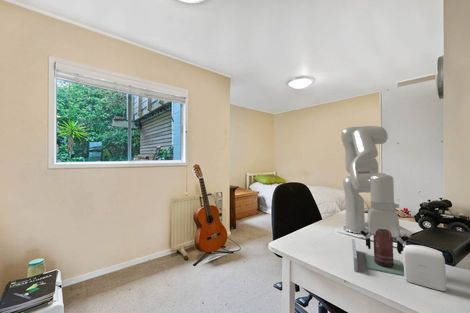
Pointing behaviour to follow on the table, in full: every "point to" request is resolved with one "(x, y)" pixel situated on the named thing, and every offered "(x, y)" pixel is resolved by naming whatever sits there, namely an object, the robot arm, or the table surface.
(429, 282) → the photo printer
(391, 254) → the can
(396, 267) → the mat
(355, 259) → the acrylic wall
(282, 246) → the table surface
